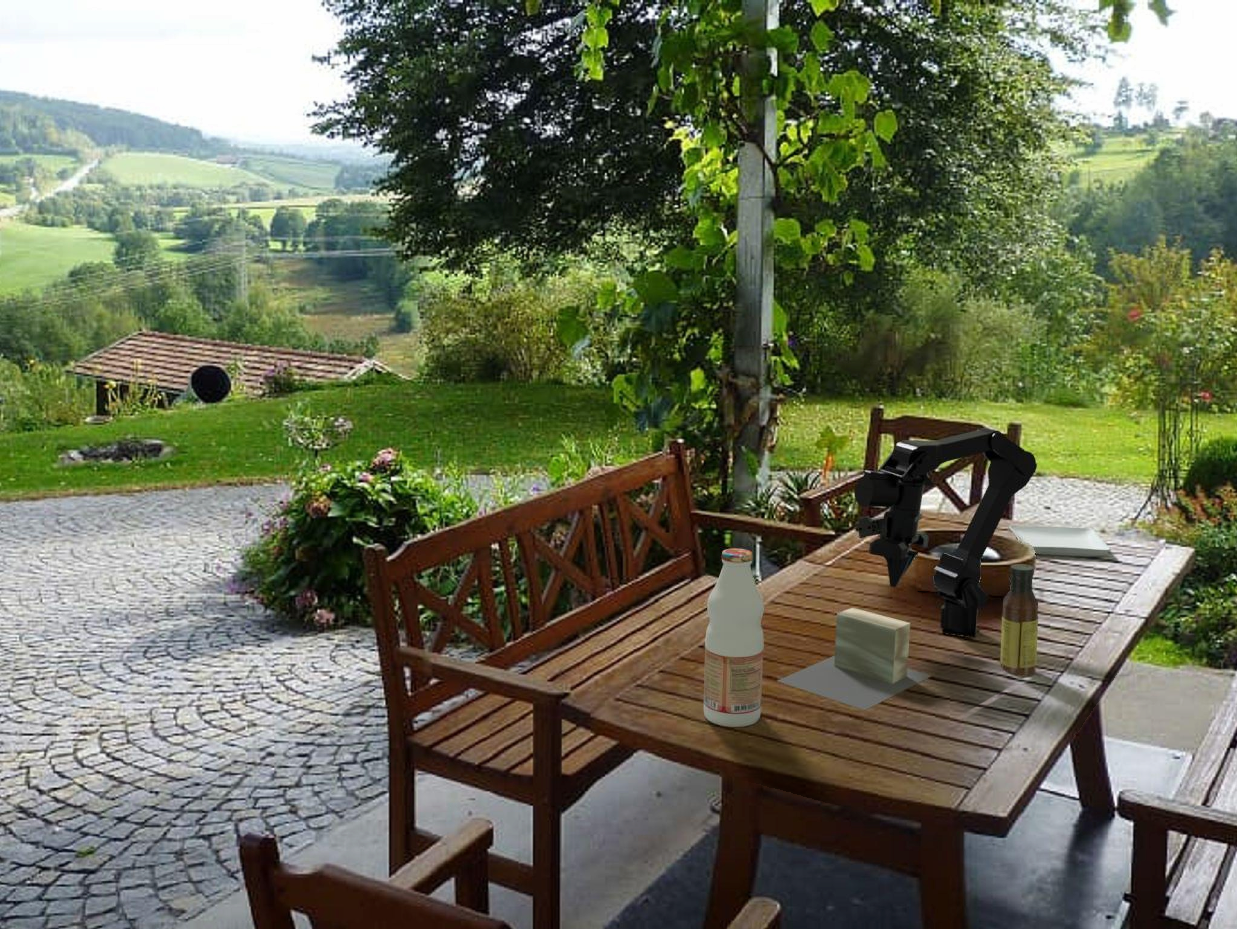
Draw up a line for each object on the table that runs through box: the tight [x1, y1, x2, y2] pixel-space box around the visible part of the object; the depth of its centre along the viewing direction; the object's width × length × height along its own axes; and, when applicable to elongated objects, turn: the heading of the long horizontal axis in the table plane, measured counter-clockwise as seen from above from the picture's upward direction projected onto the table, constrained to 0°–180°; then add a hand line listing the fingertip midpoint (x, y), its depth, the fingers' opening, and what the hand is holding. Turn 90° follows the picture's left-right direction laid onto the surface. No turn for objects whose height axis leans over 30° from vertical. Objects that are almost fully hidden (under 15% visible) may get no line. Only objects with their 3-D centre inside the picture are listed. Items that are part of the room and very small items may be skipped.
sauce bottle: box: [999, 563, 1039, 677], centre depth 211 cm, size 6×6×20 cm
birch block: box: [834, 607, 911, 684], centre depth 210 cm, size 5×12×10 cm, turn 46°
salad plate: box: [1008, 525, 1111, 558], centre depth 298 cm, size 21×21×3 cm
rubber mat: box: [776, 655, 932, 711], centre depth 208 cm, size 22×18×1 cm
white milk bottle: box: [703, 547, 765, 728], centre depth 189 cm, size 9×9×28 cm
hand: (893, 586), depth 225 cm, fingers closed
